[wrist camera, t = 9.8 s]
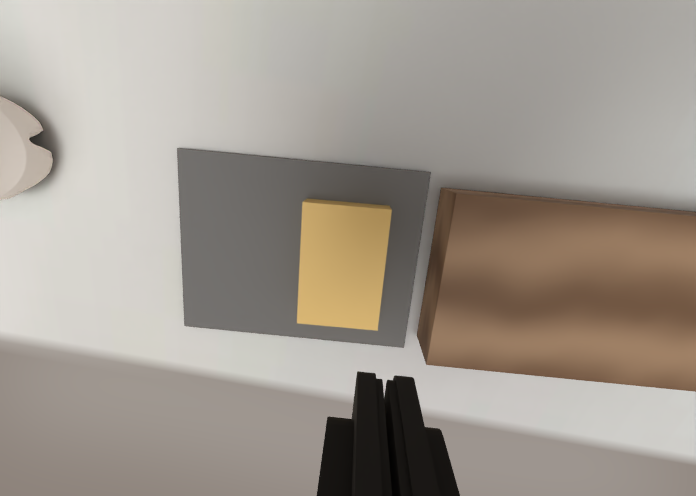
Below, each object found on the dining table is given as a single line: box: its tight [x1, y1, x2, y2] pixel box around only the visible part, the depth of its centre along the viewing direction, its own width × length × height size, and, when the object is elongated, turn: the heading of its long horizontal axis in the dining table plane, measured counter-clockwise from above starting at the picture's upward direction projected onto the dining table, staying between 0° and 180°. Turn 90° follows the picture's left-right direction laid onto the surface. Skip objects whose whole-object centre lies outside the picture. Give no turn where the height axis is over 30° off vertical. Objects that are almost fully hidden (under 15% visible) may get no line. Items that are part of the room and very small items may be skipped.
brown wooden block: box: [417, 188, 696, 391], centre depth 24 cm, size 12×20×4 cm, turn 85°
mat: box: [177, 148, 431, 348], centre depth 26 cm, size 14×18×1 cm
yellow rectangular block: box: [297, 199, 392, 331], centre depth 25 cm, size 9×6×2 cm, turn 175°
